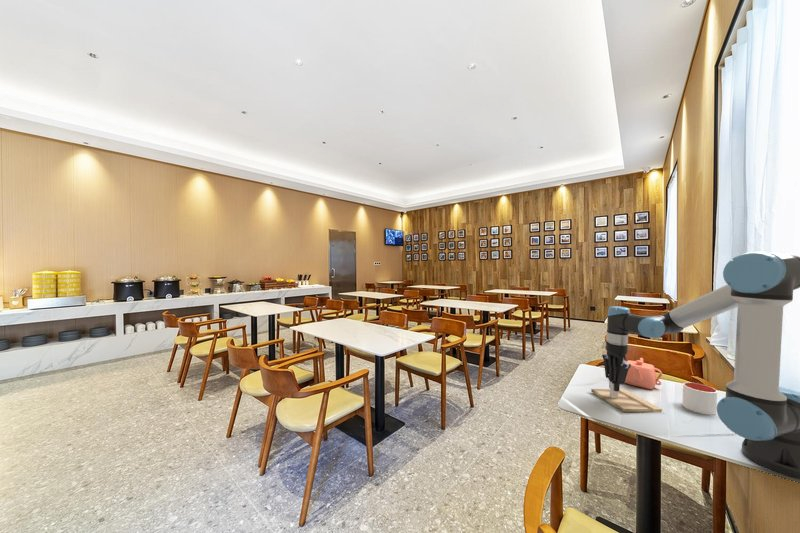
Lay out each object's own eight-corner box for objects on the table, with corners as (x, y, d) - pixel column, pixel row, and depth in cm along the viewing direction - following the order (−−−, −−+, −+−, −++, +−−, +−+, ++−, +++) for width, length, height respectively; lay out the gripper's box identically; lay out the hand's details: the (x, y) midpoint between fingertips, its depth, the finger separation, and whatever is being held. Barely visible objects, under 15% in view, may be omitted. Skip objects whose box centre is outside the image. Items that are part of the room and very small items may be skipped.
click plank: (651, 412, 122) (651, 408, 122) (623, 411, 121) (623, 408, 121) (615, 392, 140) (616, 389, 140) (591, 391, 139) (591, 388, 139)
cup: (723, 418, 120) (724, 393, 119) (693, 415, 122) (694, 391, 121) (703, 406, 129) (704, 383, 129) (676, 404, 131) (677, 381, 131)
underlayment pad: (665, 415, 121) (665, 410, 121) (620, 417, 120) (620, 411, 119) (624, 393, 141) (624, 388, 141) (585, 394, 139) (585, 389, 139)
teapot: (635, 393, 142) (636, 366, 141) (611, 378, 158) (612, 354, 158) (668, 394, 141) (669, 367, 141) (641, 379, 158) (642, 355, 157)
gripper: (638, 347, 123) (634, 404, 124) (613, 338, 136) (610, 390, 137) (620, 347, 122) (617, 404, 123) (597, 338, 135) (594, 390, 136)
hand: (613, 397), depth 130 cm, fingers closed
